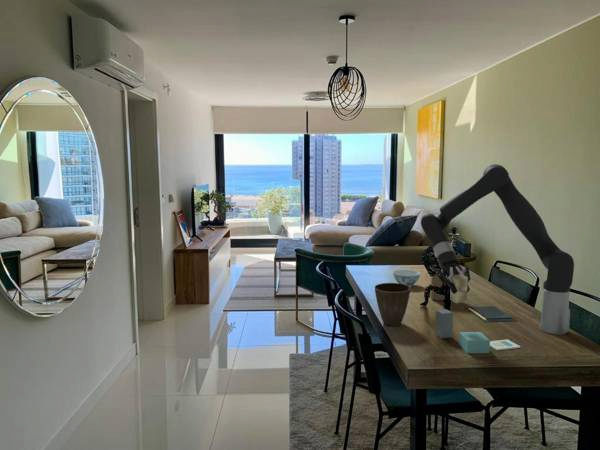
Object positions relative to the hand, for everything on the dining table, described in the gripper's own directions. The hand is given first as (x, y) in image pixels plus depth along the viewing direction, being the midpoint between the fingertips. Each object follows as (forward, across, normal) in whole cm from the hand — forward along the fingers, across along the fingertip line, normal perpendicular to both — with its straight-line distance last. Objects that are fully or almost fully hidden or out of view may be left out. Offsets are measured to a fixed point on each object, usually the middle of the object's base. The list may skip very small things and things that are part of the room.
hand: (461, 292), depth 167 cm
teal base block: (+20, 0, +7) cm, 21 cm away
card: (+20, +12, +7) cm, 24 cm away
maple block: (+2, 0, +4) cm, 5 cm away
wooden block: (-22, +22, +50) cm, 59 cm away
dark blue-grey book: (-2, +30, +30) cm, 43 cm away
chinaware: (-41, +16, +69) cm, 82 cm away
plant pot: (-3, -18, +30) cm, 35 cm away
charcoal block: (+10, -4, +17) cm, 20 cm away
